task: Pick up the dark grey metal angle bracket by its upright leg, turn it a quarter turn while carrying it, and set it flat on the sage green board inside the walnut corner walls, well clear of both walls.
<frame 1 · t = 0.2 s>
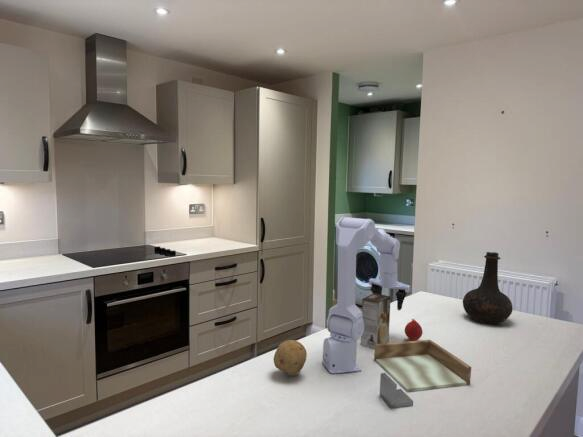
hand: (389, 306, 142), 11 cm above the counter, tool pointing down, fingers open, 7 cm apart
glass bottle: (485, 320, 163), on the counter
red round fruit: (412, 341, 139), on the counter
arena: (418, 372, 116), on the counter
bracket: (395, 400, 101), on the counter
potato: (289, 375, 112), on the counter
coffee box: (374, 343, 136), on the counter
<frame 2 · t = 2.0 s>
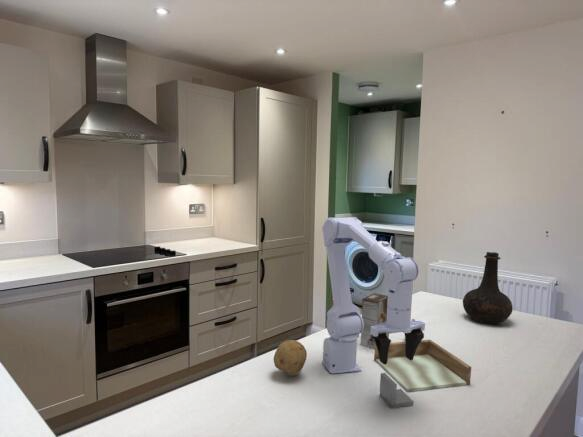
hand: (396, 360, 100), 10 cm above the counter, tool pointing down, fingers open, 7 cm apart
nothing on the counter moved.
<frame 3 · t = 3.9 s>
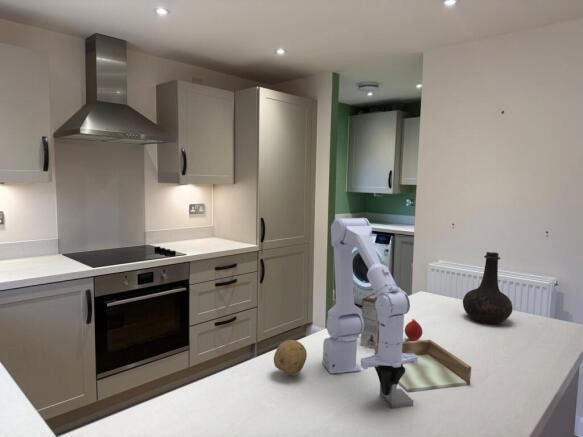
hand: (387, 392, 100), 2 cm above the counter, tool pointing down, fingers closed on bracket
bracket: (395, 400, 101), on the counter, touching gripper
everything else where it was.
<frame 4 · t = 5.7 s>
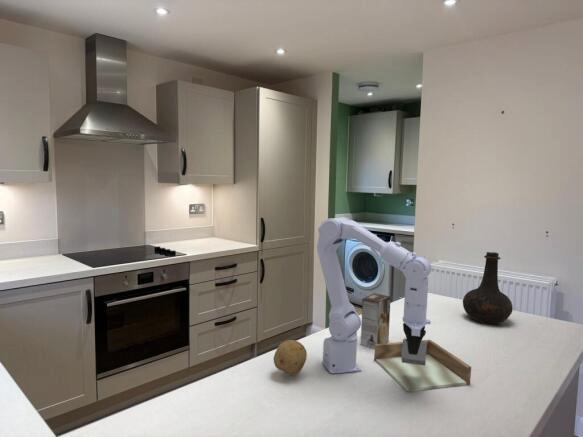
hand: (412, 352, 107), 9 cm above the counter, tool pointing down, fingers closed on bracket
bracket: (412, 359, 109), point 7 cm above the counter, touching gripper
everything else where it was.
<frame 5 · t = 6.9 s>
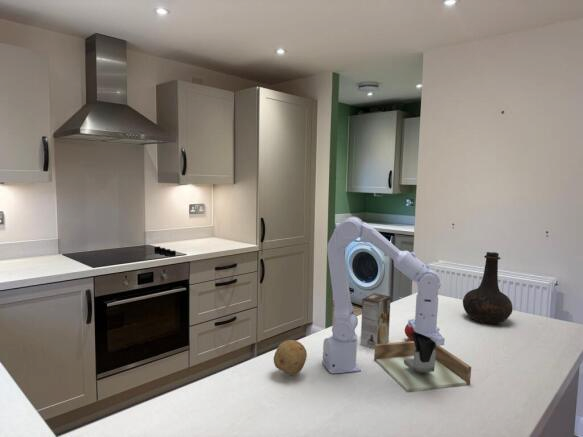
hand: (423, 360, 112), 5 cm above the counter, tool pointing down, fingers closed on bracket
bracket: (418, 367, 114), point 2 cm above the counter, touching gripper
everything else where it was.
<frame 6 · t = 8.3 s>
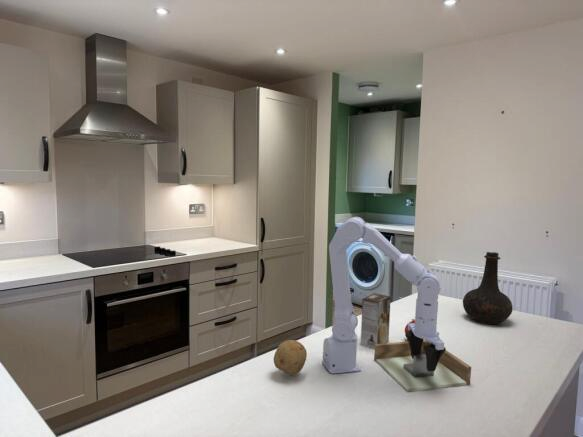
hand: (423, 364, 112), 4 cm above the counter, tool pointing down, fingers open, 7 cm apart
bracket: (418, 371, 115), point 1 cm above the counter, touching arena
everything else where it was.
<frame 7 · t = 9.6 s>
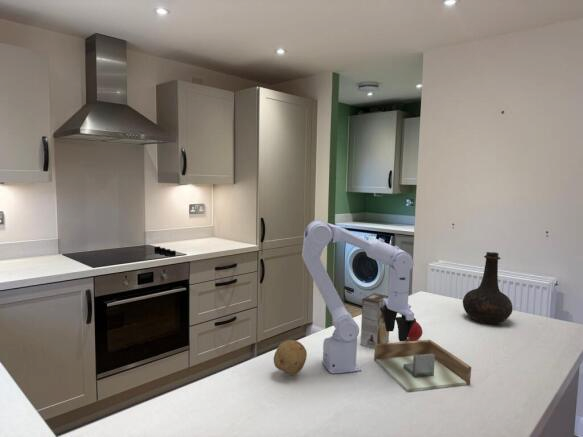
hand: (396, 335, 118), 9 cm above the counter, tool pointing down, fingers open, 7 cm apart
nothing on the counter moved.
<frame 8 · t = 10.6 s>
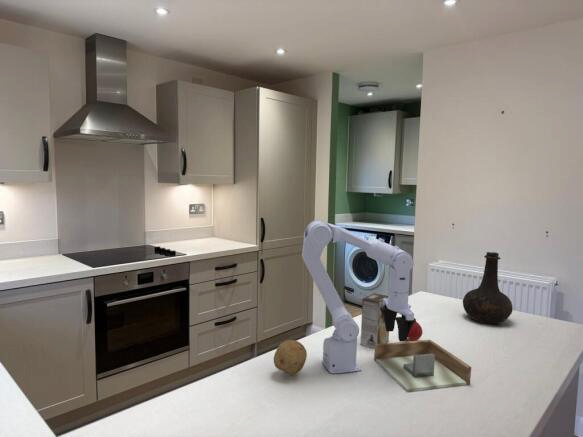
hand: (396, 335, 118), 9 cm above the counter, tool pointing down, fingers open, 7 cm apart
nothing on the counter moved.
at the end: bracket inside the target area on the arena (0.5 cm from its centre), point 0.8 cm above the arena's base; bracket tilted 0°; the gripper is holding nothing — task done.
